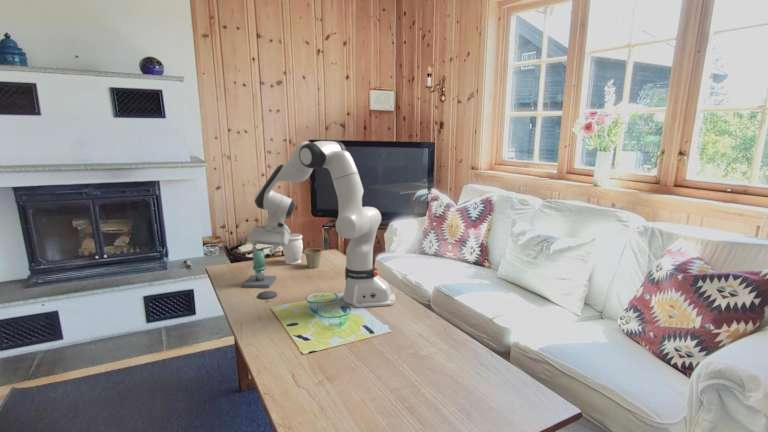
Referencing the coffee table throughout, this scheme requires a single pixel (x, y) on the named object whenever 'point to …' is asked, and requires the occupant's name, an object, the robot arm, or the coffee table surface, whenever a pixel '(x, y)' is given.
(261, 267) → the cap
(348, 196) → the robot arm
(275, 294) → the pad
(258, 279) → the grey rounded piece
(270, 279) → the post slab
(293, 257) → the jar
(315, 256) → the flower pot
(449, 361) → the coffee table surface
